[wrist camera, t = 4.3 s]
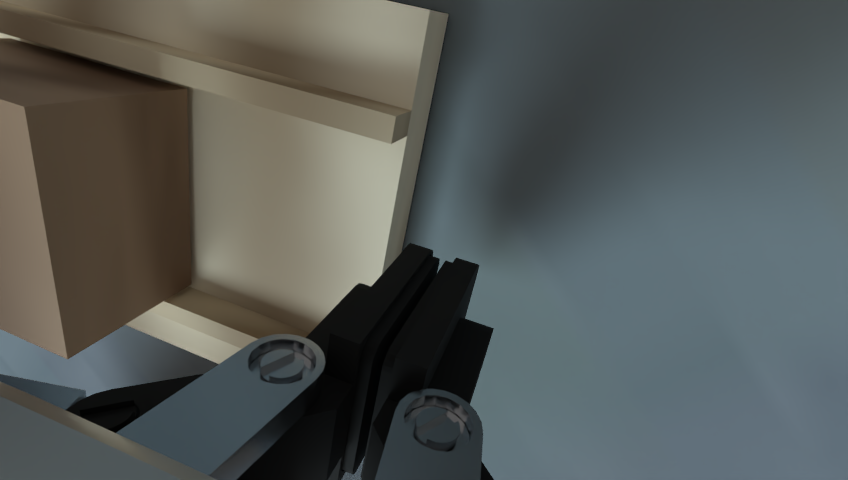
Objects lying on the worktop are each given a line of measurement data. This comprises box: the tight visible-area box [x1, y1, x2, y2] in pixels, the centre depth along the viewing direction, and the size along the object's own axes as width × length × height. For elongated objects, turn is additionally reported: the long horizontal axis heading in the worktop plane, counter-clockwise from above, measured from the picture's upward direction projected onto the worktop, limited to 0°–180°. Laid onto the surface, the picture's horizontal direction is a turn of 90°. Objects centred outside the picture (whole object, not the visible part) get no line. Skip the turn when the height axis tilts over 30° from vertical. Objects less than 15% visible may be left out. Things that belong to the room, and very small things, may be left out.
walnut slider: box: [0, 38, 192, 359], centre depth 12 cm, size 6×6×4 cm
